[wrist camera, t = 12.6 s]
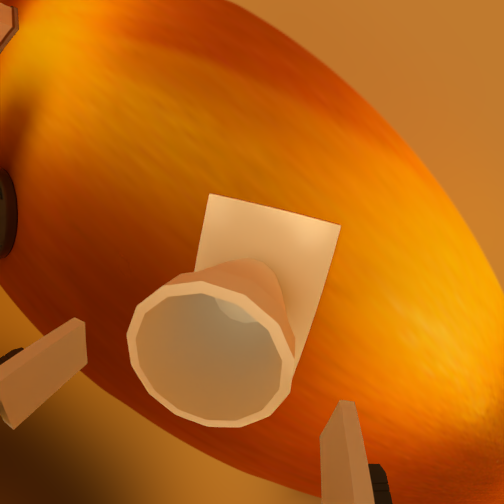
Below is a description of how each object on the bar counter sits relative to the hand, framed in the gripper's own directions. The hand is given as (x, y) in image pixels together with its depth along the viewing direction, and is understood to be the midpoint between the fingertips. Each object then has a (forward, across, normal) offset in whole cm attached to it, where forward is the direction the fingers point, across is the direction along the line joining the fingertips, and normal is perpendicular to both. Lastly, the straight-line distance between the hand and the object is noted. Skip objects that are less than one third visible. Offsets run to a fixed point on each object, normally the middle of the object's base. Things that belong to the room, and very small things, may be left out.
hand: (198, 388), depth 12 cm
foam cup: (+15, 0, 0) cm, 15 cm away
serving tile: (+16, +1, 0) cm, 17 cm away
